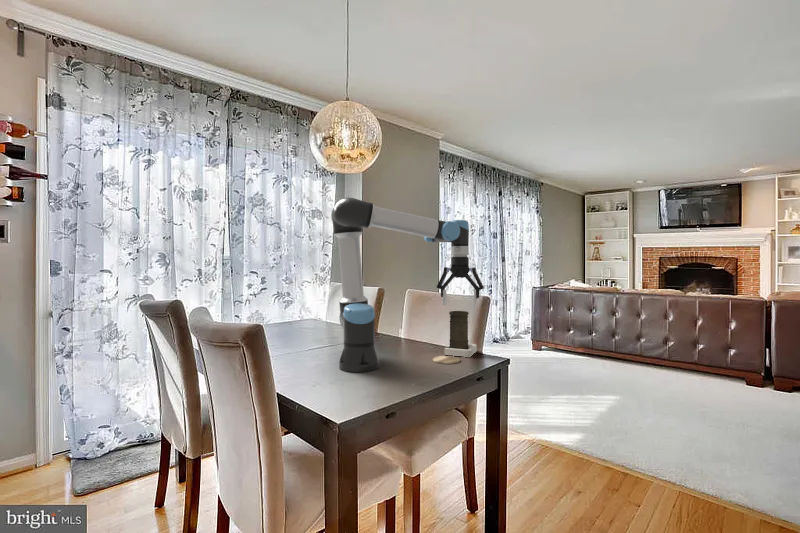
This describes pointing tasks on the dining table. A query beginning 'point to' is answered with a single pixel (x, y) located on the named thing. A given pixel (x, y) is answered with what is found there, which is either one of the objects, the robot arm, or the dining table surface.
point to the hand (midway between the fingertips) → (459, 305)
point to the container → (459, 330)
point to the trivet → (446, 359)
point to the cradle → (462, 351)
